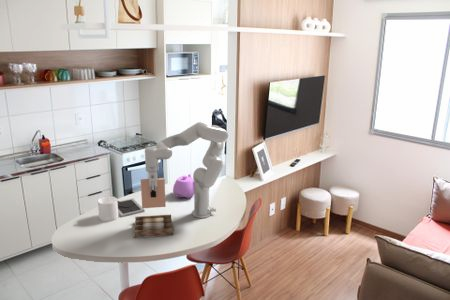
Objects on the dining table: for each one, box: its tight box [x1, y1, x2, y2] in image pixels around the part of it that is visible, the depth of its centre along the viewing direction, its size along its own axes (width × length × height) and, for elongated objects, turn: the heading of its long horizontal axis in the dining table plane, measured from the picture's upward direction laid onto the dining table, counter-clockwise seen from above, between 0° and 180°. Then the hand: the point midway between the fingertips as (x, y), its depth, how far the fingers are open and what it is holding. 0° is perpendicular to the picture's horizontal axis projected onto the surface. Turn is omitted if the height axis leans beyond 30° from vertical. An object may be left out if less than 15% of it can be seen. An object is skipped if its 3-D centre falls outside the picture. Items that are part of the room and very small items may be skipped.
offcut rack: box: [133, 214, 174, 238], centre depth 237 cm, size 22×18×4 cm
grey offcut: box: [143, 223, 164, 230], centre depth 231 cm, size 12×4×6 cm, turn 96°
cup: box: [97, 195, 119, 222], centre depth 248 cm, size 12×12×12 cm
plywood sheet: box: [140, 177, 167, 209], centre depth 237 cm, size 14×2×18 cm, turn 100°
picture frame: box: [117, 198, 146, 218], centre depth 262 cm, size 16×3×21 cm
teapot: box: [172, 173, 194, 200], centre depth 284 cm, size 20×20×15 cm
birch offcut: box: [143, 218, 164, 223], centre depth 237 cm, size 12×4×6 cm, turn 101°
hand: (153, 195), depth 237 cm, fingers closed on plywood sheet, 2 cm apart
